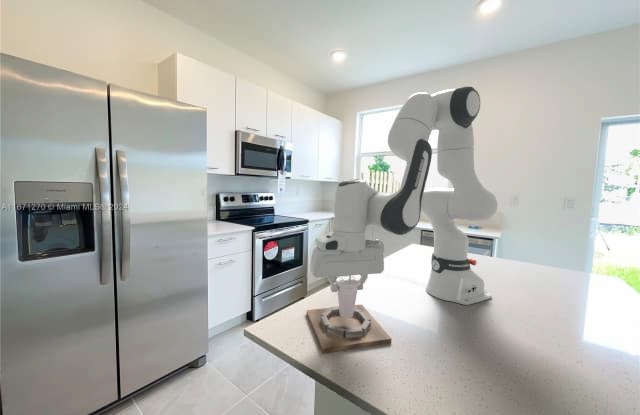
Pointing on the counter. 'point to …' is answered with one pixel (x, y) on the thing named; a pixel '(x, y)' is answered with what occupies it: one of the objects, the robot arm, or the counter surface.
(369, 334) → the socket
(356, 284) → the smoothie
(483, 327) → the counter surface
